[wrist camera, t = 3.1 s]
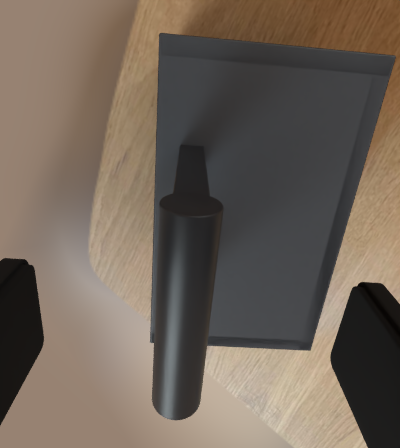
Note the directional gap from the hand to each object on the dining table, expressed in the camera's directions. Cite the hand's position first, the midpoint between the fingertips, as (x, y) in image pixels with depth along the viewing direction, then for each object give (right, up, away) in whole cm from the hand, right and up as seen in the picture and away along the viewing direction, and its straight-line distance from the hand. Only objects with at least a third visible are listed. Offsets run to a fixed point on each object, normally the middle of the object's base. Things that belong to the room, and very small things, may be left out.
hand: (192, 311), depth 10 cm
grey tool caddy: (+7, +3, +8) cm, 11 cm away
